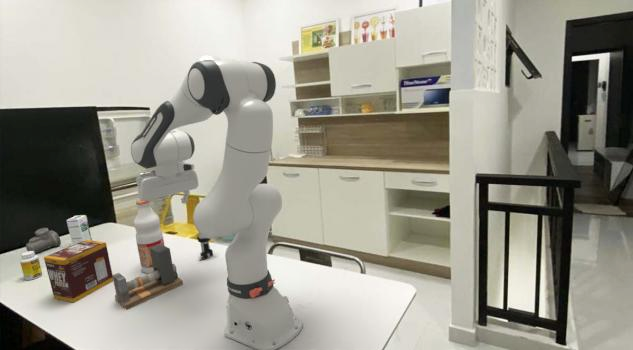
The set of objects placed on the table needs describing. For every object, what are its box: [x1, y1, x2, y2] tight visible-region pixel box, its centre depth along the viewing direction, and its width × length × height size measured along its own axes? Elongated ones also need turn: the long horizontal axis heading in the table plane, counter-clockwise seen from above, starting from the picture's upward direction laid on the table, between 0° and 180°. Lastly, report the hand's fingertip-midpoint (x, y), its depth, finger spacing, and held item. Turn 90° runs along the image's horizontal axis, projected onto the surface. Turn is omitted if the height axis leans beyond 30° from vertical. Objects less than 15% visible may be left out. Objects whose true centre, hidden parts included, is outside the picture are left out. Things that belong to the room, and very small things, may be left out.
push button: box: [196, 233, 214, 261], centre depth 144 cm, size 7×5×10 cm
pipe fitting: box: [25, 227, 62, 255], centre depth 164 cm, size 12×8×10 cm, turn 151°
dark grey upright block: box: [150, 244, 175, 285], centre depth 123 cm, size 7×4×12 cm, turn 48°
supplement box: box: [43, 240, 114, 303], centre depth 124 cm, size 10×15×16 cm
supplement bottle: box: [19, 251, 43, 281], centre depth 136 cm, size 6×6×10 cm
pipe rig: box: [112, 263, 184, 311], centre depth 120 cm, size 10×19×10 cm, turn 138°
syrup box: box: [66, 214, 93, 245], centre depth 165 cm, size 6×6×14 cm
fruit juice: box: [133, 199, 166, 274], centre depth 136 cm, size 9×9×28 cm
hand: (172, 206), depth 123 cm, fingers open, 8 cm apart
